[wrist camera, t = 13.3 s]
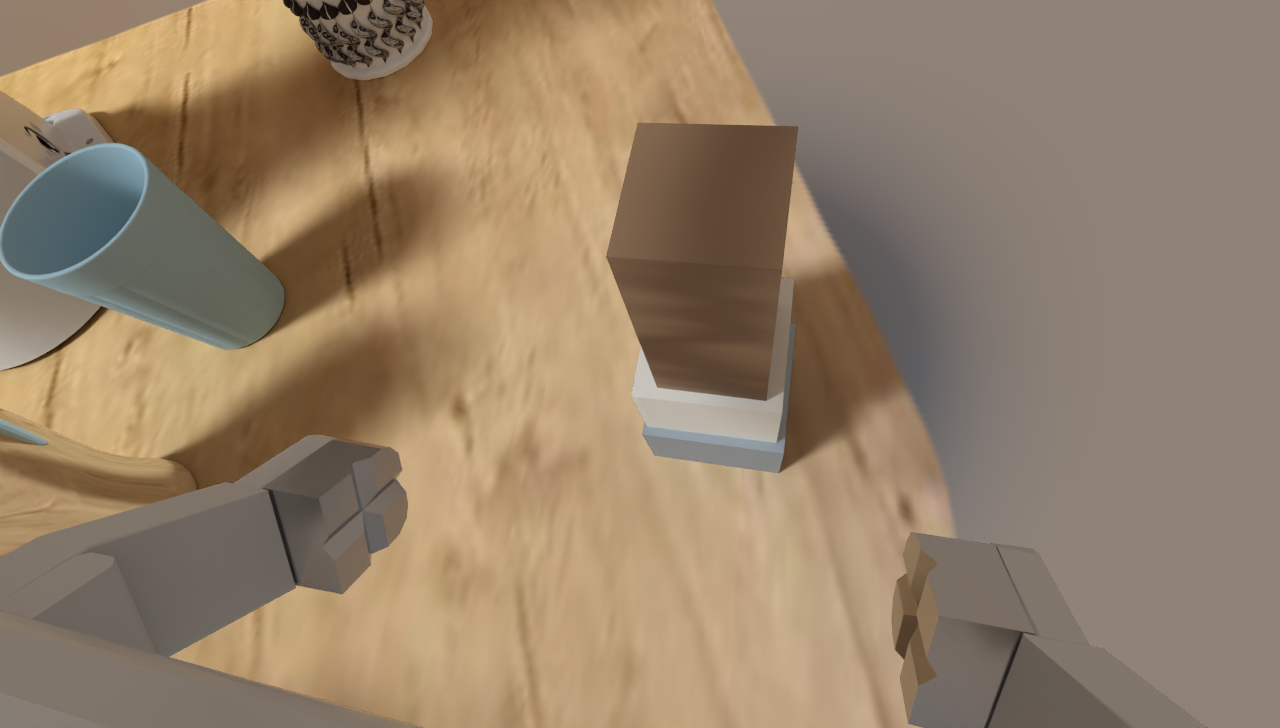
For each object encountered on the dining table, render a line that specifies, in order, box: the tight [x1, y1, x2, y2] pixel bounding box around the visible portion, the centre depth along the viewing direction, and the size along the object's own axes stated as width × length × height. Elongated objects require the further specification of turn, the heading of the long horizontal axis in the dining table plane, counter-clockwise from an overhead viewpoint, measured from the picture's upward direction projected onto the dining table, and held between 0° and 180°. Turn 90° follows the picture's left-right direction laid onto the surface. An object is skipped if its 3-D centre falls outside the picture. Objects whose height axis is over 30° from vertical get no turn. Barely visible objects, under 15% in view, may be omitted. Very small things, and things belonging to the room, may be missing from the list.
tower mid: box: [631, 278, 794, 443], centre depth 24 cm, size 6×6×4 cm
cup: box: [0, 143, 285, 349], centre depth 32 cm, size 8×8×10 cm
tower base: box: [642, 323, 796, 473], centre depth 28 cm, size 6×6×4 cm
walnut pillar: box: [606, 123, 798, 401], centre depth 18 cm, size 4×4×9 cm
